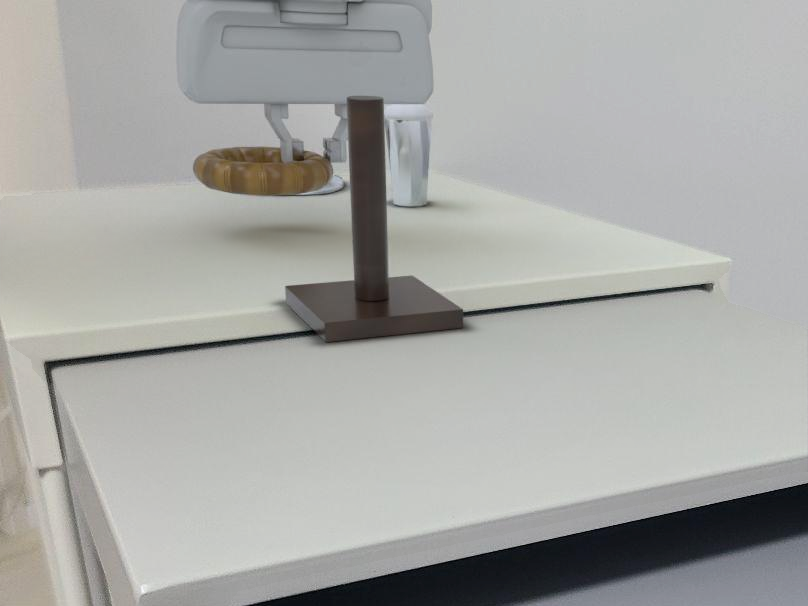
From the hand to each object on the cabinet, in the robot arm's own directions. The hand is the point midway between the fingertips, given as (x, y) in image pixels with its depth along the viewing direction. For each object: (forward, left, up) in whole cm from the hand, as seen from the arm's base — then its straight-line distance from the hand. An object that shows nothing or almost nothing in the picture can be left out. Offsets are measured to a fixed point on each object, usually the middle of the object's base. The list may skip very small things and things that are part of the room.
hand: (313, 162), depth 88 cm
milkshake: (+12, +10, -6) cm, 17 cm away
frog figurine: (+3, +22, -6) cm, 23 cm away
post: (-4, -25, -6) cm, 26 cm away
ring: (-4, 0, -1) cm, 4 cm away
